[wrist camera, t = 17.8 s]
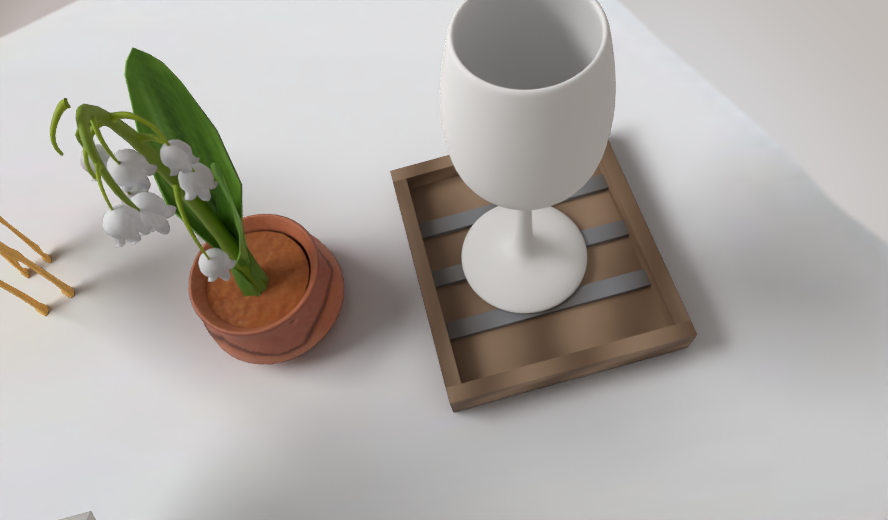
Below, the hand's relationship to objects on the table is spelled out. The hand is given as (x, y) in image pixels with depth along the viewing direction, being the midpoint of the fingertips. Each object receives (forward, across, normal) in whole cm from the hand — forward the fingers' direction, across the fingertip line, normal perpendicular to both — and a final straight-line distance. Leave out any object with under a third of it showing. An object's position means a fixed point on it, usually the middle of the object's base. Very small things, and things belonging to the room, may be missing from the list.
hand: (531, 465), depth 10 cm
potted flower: (+36, -12, -9) cm, 39 cm away
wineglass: (+34, +6, -9) cm, 36 cm away
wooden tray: (+35, +6, -10) cm, 37 cm away
